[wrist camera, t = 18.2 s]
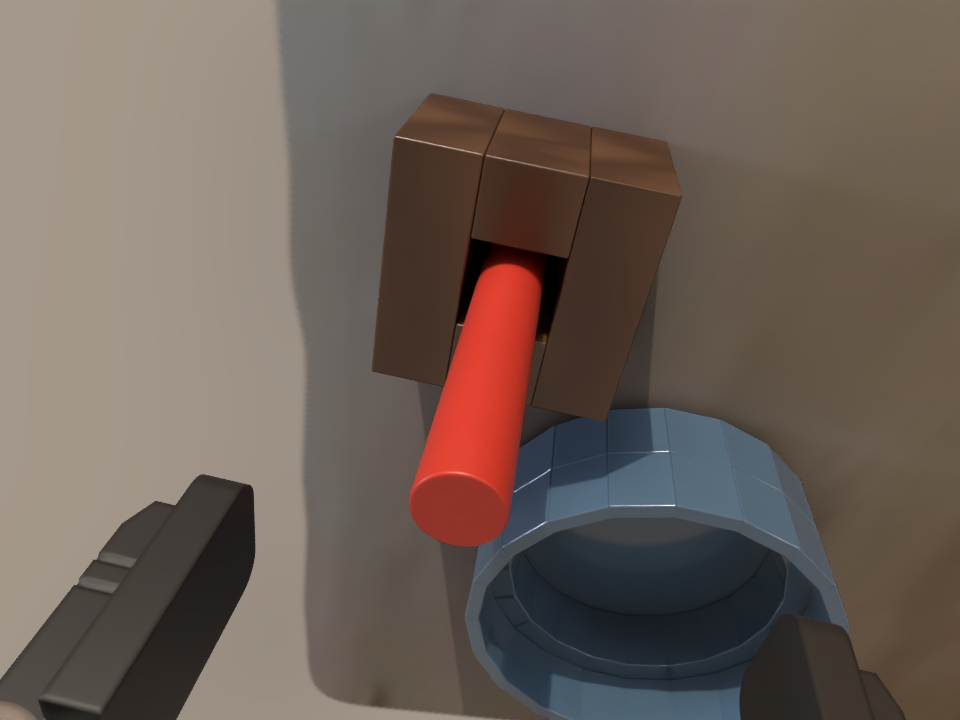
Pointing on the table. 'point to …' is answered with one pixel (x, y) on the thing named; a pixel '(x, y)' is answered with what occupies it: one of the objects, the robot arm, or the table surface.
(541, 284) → the stick
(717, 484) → the bowl
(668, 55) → the table surface
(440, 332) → the holder
